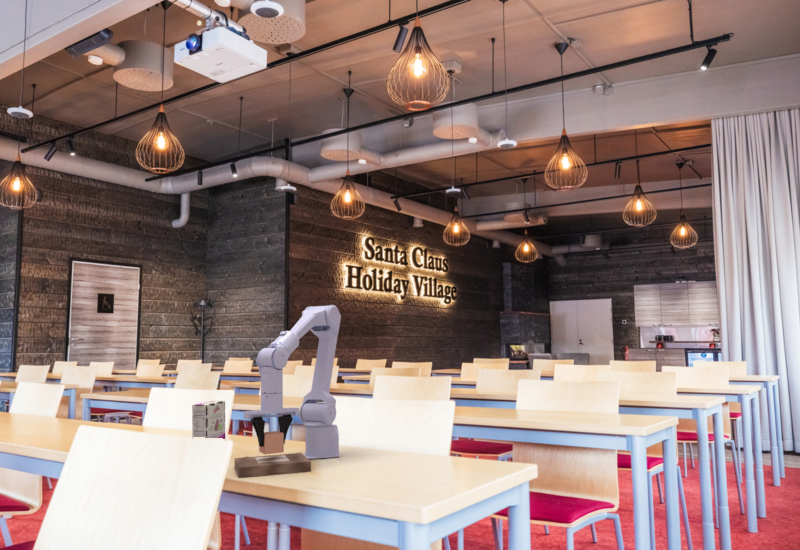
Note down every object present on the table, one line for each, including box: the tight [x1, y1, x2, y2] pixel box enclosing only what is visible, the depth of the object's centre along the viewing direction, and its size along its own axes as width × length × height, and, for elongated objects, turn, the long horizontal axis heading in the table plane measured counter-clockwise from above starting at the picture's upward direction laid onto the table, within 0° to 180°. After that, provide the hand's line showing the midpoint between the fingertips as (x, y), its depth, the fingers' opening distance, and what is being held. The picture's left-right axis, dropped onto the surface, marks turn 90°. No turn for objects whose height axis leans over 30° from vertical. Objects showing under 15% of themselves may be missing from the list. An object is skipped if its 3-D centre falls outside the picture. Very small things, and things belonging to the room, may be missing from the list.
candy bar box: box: [191, 400, 226, 440], centre depth 181 cm, size 11×5×16 cm, turn 168°
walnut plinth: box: [234, 452, 312, 479], centre depth 164 cm, size 18×14×3 cm
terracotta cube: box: [258, 430, 285, 455], centre depth 164 cm, size 5×5×5 cm
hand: (271, 445), depth 164 cm, fingers closed on terracotta cube, 5 cm apart
